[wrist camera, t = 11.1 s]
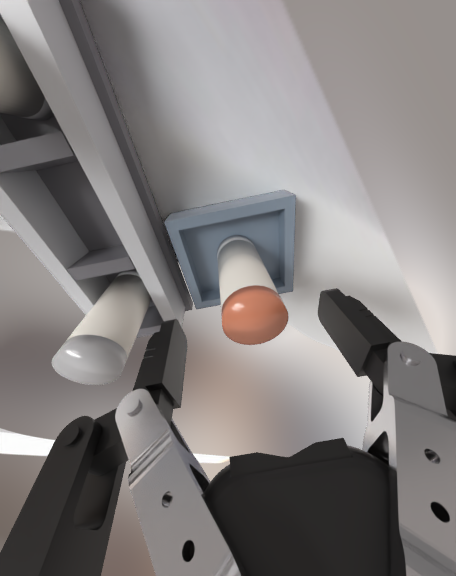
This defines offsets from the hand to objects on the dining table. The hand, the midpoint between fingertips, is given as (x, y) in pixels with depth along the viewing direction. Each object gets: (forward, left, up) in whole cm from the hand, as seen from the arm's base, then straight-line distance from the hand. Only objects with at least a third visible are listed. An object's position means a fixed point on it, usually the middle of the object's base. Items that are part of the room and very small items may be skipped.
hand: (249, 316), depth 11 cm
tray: (0, 0, -10) cm, 10 cm away
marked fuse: (0, 0, -9) cm, 9 cm away
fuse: (-10, -1, -8) cm, 13 cm away
